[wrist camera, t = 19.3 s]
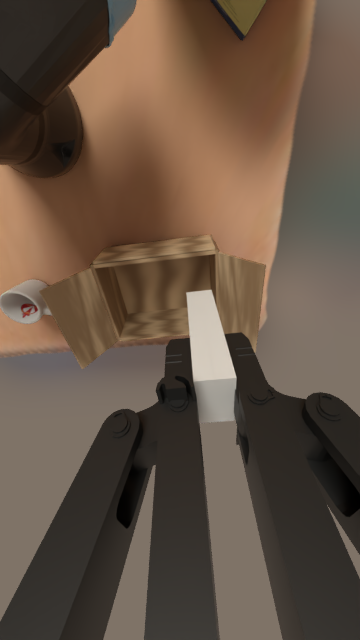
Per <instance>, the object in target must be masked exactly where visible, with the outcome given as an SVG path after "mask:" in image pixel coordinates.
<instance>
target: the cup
mask: <svg viewBox="0 0 360 640" xmlns="http://www.w3.org/2000/svg"><path fill="white" fill-rule="evenodd" d="M47 287H49V286H48V285H47V284H46V283H44V282H42V281H40V280H35V279H31V280H27V281H25V282H23V283H21V284H19V285H17V286H15V287H13V288H11V289H10V290H8V291H6V292H4V293H3V294H2V295H1V296H0V307H1V309H2V311H3V312H4V313H5V314H6V315H7V316H8V317H9V318H11V319H12V320H14V321H16V322H19V323H23V324H32V323H35V322H37V321H39V320H40V318H41V317H42V316H43V315H44V314H45V315H51V316H52V314H51V312H50V310H49V309H48V307H47V305H46V303H45V301H44V300H43V298H42V296H41V294H40V292H39V291H40V290H42V289H44V288H47Z"/></svg>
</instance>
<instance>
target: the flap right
mask: <svg viewBox="0 0 360 640" xmlns="http://www.w3.org/2000/svg"><path fill="white" fill-rule="evenodd" d="M218 258H219V318H220V321H221V325H222V328H223V332H224V334H229V333H239V332H242V333H243V334H244V335H245V336H246V337H247V338H248V339H249V341H250V343H251V345H252V348H253V350H254V353H255V352H256V345H257V337H258V328H259V319H260V311H261V302H262V294H263V285H264V277H265V268H266V265H264V264H261V263H257V262H253V261H250V260H246V259H243V258H239V257H236V256H232V255H228V254H225V253H221V252H220V253H218Z"/></svg>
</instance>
